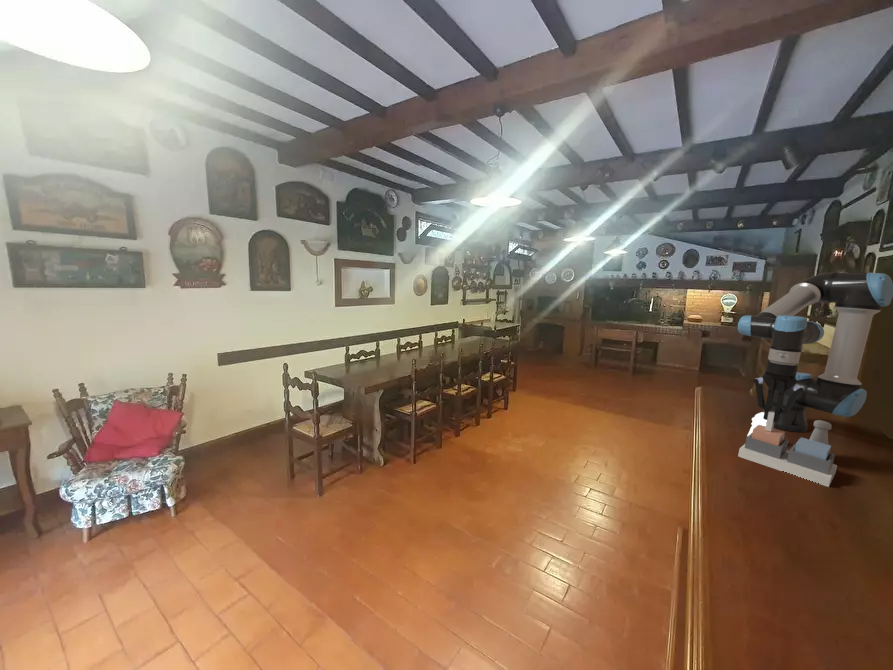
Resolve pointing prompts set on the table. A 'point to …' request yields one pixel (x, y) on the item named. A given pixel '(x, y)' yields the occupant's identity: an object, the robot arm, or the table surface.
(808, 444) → the slate blue key
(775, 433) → the terracotta key
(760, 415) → the figurine
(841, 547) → the table surface
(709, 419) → the table surface
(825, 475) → the key housing
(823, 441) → the salt shaker
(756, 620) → the table surface
